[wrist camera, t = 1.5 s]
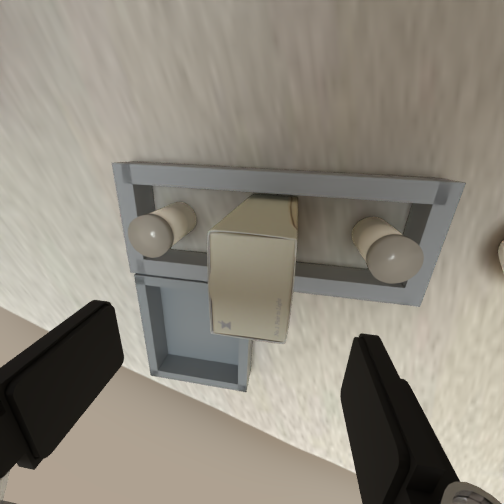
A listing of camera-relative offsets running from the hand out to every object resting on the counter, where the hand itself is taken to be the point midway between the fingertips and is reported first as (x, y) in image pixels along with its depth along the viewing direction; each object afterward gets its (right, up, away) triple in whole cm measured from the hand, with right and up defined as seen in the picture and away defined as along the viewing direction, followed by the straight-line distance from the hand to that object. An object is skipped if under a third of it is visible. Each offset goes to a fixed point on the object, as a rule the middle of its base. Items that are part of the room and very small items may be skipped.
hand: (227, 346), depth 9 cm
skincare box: (+3, +6, +14) cm, 16 cm away
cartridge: (+12, +5, +13) cm, 18 cm away
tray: (-5, -4, +19) cm, 20 cm away
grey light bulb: (-6, +7, +15) cm, 18 cm away
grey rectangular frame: (+3, +6, +14) cm, 15 cm away
